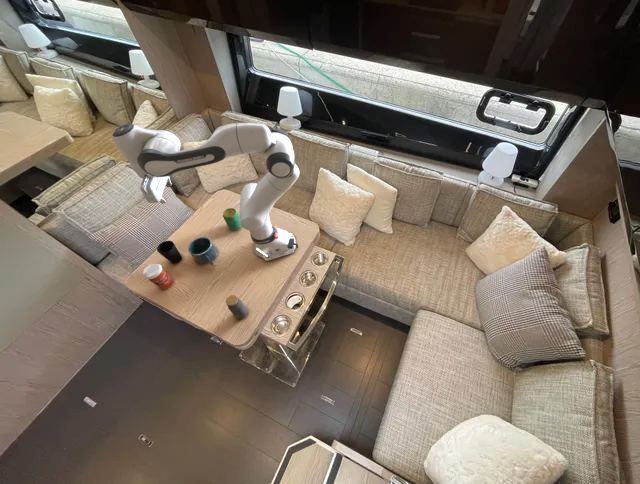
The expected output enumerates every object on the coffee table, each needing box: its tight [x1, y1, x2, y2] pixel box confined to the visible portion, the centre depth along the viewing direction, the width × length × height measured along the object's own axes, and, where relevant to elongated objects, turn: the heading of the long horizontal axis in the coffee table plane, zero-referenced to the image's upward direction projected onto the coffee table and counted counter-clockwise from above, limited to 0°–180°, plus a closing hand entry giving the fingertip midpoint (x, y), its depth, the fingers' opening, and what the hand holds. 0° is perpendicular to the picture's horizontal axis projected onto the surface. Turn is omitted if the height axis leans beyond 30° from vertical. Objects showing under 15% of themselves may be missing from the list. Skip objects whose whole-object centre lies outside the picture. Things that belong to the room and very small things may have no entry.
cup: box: [156, 240, 183, 265], centre depth 141 cm, size 8×8×12 cm
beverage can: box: [222, 207, 243, 232], centre depth 157 cm, size 8×8×12 cm
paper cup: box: [142, 263, 173, 290], centre depth 131 cm, size 8×8×14 cm
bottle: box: [225, 294, 249, 320], centre depth 123 cm, size 6×6×15 cm
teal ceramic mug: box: [187, 236, 219, 266], centre depth 144 cm, size 15×11×9 cm
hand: (167, 193), depth 112 cm, fingers open, 8 cm apart
